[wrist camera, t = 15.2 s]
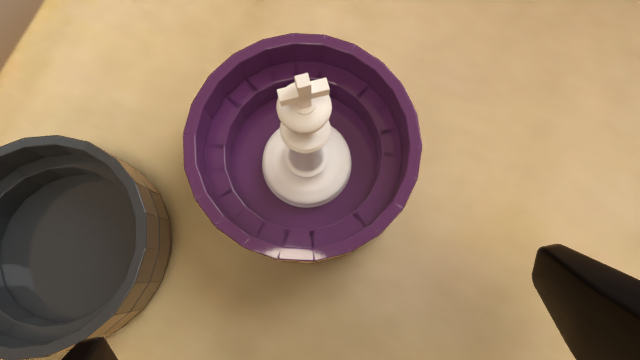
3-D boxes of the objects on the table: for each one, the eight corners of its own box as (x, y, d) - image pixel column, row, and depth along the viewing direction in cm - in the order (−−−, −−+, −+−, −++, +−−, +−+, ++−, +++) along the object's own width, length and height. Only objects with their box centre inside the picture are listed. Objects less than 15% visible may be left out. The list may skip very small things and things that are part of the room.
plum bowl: (388, 63, 24) (403, 24, 20) (416, 253, 22) (439, 249, 18) (201, 78, 24) (180, 41, 20) (209, 273, 21) (186, 274, 18)
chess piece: (253, 133, 23) (209, 30, 13) (337, 112, 23) (356, -4, 13) (274, 218, 22) (243, 174, 12) (362, 194, 22) (401, 133, 12)
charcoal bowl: (170, 148, 23) (145, 127, 20) (173, 334, 21) (146, 346, 17) (-11, 164, 23) (-68, 145, 19) (-27, 355, 20) (-95, 372, 17)
